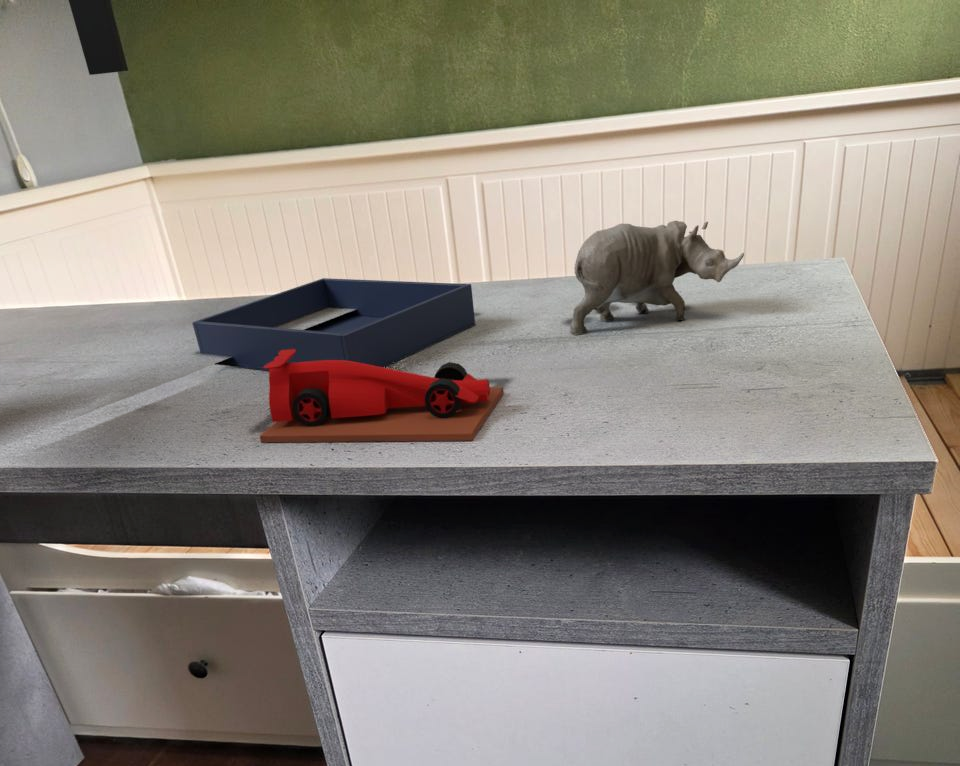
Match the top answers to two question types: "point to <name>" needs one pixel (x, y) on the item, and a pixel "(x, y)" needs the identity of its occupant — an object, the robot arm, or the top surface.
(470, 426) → the mat
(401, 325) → the blue tray
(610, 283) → the rhinoceros figurine
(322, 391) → the toy car
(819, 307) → the top surface
